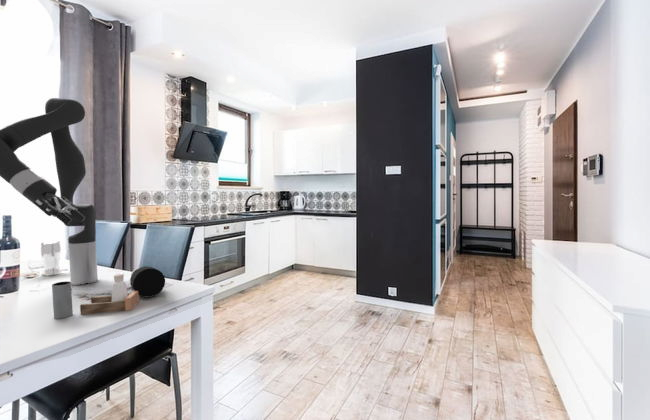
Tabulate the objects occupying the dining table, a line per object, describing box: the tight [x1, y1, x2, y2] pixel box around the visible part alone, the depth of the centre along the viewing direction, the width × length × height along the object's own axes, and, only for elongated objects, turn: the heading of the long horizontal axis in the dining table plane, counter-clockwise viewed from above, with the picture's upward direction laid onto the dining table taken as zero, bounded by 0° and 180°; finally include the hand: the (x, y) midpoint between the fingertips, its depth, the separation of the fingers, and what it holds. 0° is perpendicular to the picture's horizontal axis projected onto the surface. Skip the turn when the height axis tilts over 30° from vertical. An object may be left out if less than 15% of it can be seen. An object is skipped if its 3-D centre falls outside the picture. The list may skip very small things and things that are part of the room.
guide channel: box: [79, 290, 140, 315], centre depth 105 cm, size 14×8×4 cm, turn 103°
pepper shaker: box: [111, 273, 128, 302], centre depth 106 cm, size 5×5×11 cm
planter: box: [51, 280, 74, 320], centre depth 99 cm, size 4×4×10 cm
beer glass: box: [40, 240, 62, 277], centre depth 150 cm, size 7×7×15 cm
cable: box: [129, 265, 166, 298], centre depth 127 cm, size 10×34×10 cm, turn 35°
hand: (76, 221), depth 106 cm, fingers open, 8 cm apart
